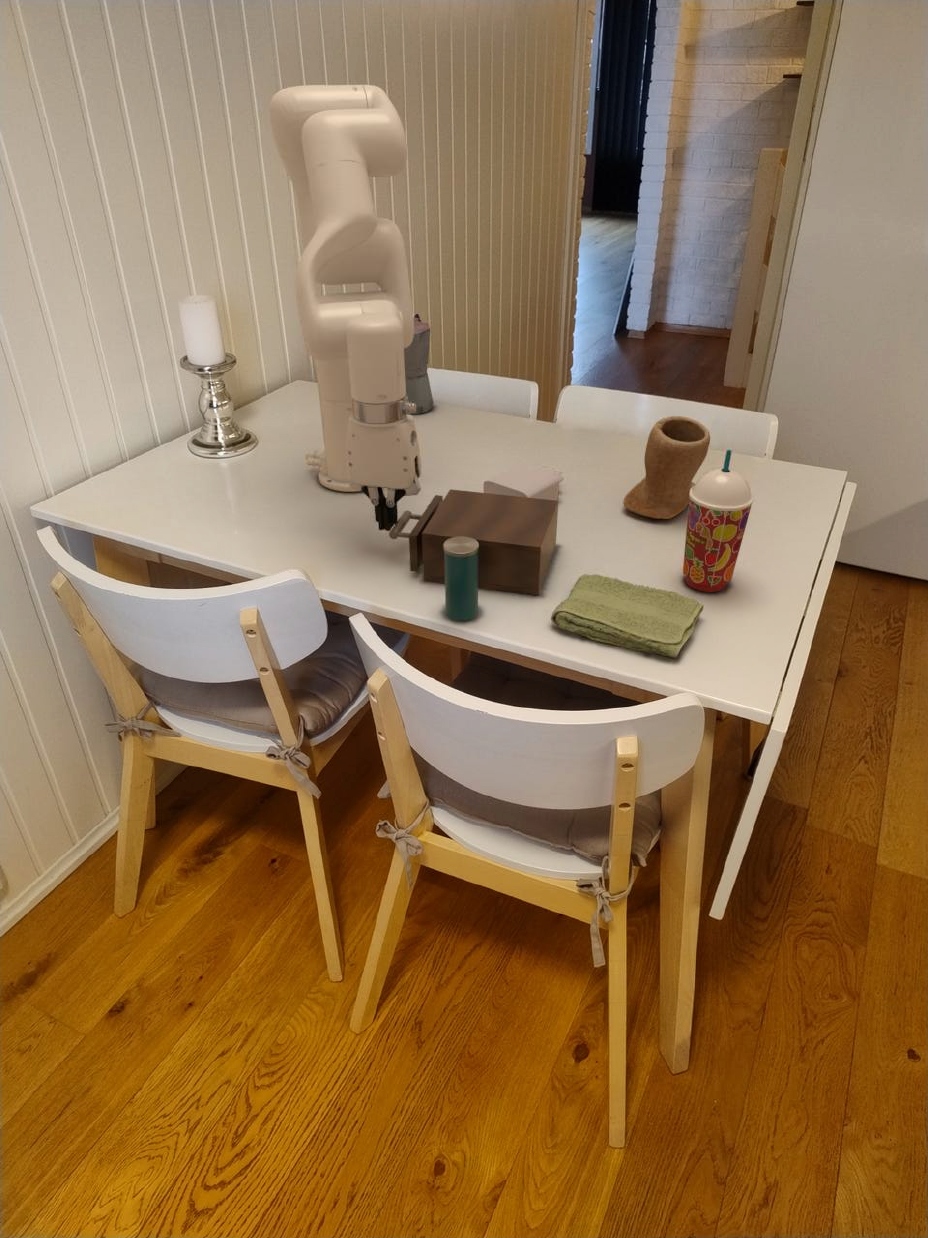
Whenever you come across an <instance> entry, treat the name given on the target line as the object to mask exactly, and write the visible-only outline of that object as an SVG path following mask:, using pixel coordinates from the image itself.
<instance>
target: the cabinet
mask: <svg viewBox="0 0 928 1238" xmlns="http://www.w3.org/2000/svg"><path fill="white" fill-rule="evenodd" d="M558 513H559V500H546V499H537V498H527V497H518V496H508V495H499V494H490V493H484V492H480V491H471V490H460V489H449V490H448V492H447V493H446V495H445V496H444V497H443V501H442V503H441V504H440V506H439V508H438V509H437V511H436V512H435V514H434V515H433V517H432V518H431V520H430V522H429V523H428V525H427V526H426V528H425V529H424V531H423V533H422V545H423V565H422V566H423V567H422V568H423V569H422V570H423V581H424V582H429V583H438V584H445V562H444V549H443V544H444V542H445V541H446V540H448V539H450V538H453V537H460V536H463V537H470V538H473V539H475V540H476V541H477V542H478V543H479V550H478V589H483V590H485V589H486V590H490V591H491V590H492V591H500V592H506V593H514V594H522V595H530V596H539V595H540V592H541V589H542V586H543V584H544V580H545V578H546V575H547V573H548V570H549V566H550V564H551V561H552V558H553V555H554V553H555V549H556V546H557V532H558V531H557V530H558V528H557V527H558Z"/></svg>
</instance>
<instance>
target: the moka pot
mask: <svg viewBox="0 0 928 1238" xmlns="http://www.w3.org/2000/svg"><path fill="white" fill-rule="evenodd" d="M413 318H414V337H413V340H412V343H411V344H410V345H409V346H408V347H407V348H405V349H404V361H405V382H406V395H408V401H409V402H411V403H416V412H415V413H408V415H412V416H413V415H420V414H424V413H427V412H430V411H431V410H432V409H433V407H434V405H435V403H434V398H433V394H432V393H433V392H432V387H431V382H430V378H429V374H428V365H429V359H430V358H429V357H430V345H431V344H430V343H431V327H430V324H429V323H428V322H424V321H422V320H421V318H420V315H419V314H418V313H415V315H413Z"/></svg>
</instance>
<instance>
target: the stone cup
mask: <svg viewBox="0 0 928 1238" xmlns="http://www.w3.org/2000/svg"><path fill="white" fill-rule="evenodd" d="M646 442H647V443H646V446H645V452H644V470H645V477H643V478H642V479H641V480H640V482H638V483H637V484H636V485H635V486H633V488H631V489H630V490H629V492H627V494H626V495H625V496H624V498H623V501H622V504H623V506H624V508H626V509H627V510H629V511H631V512H632V513H635V514H636V515H641V516H644V517H648V518H651V519H661V520H668V519H672V518H674V517H676V516H677V515H679V514H680V513H682V512H683V511H684V510H685V509H686V508H687V507H688V506H689V491H690V489H691V488H692V487H693V486H694V485H695V484H696V482H693V480H694V478H695V476H696V475H697V473H698V471H699V469H700V468H701V466H702V465H703V463H704V461H705V459H706V457H707V455H708V452H709V447H710V444H711V435H710V431H709V430H708V428H707V427H705V425H704V424H702V423H701V422H700V421H698V420H695V419H693V418H692V417H691V418H690V417H687V416H680V415H671V416H667V417H663V418H661V419H660V420H658V421H657V422H656V423H655V424H654V425H653V426H652V428H651V430H650V432H649V435H648V439H647V441H646Z"/></svg>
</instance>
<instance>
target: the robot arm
mask: <svg viewBox="0 0 928 1238" xmlns="http://www.w3.org/2000/svg"><path fill="white" fill-rule="evenodd" d="M269 121H270V127H271V132H272V136H273V140H274V143H275V147H276V150H277V152H278V156H279V157H280V160H281V162H282V165H283V168H284V169H285V171H286V173H287V175H288V177H289V179H290V182H291V185H292V188H293V190H294V193H295V198H296V202H297V209H298V210H297V211H298V216H299V223H300V231H301V237H302V244H303V252H302V253H301V257H300V259H299V262H298V265H297V268H296V274H295V282H294V283H295V284H294V287H295V301H296V306H297V312H298V318H299V323H300V330H301V336H302V340H303V343H304V344H303V345H304V347H305V348H306V350H307V352H308V354H309V355H310V356H311V357H312V358H313V360H314V366H315V372H316V380H317V381H316V382H317V392H318V401H319V409H320V417H321V418H320V419H321V427H322V436H323V448H324V449H323V450H322V451H318V450H312V449H307V450H306V452H305V460H306V464H307V466H311V467H319V468H320V470H319V472H318V481H319V483H320V484H321V485H322V486H323V487H325V488H327V489H329V490H333V491H337V492H346V493H347V492H349V493H353V492H354V493H355V492H362V493H363V494H364V495H365V496H366V497H367V498H368V499H369V500H370V503H371V505H372V506H374V516H375V522H376V523H377V525H378V527H377V529H378V530H379V531H386V532H390V531H391V530H392V528H393V527H394V525H395V524H396V522H397V521H398V520H399V513H398V502H399V501H400V500H401V499H403V498H404V497H413V496H417V495H418V494H420V492H421V489H422V487H421V485H420V481H419V478H420V477H421V476H422V460H421V458H422V457H421V450H420V444H419V439H418V431H417V428H416V423H415V418H414V416H413V415H410V414H408V413H415V412H416V403H411V402H409V401H408V395H406V382H405V361H404V349H405V348H407V347H408V346H409V345H410V344H411V343H412V340H413V337H414V309H413V302H412V300H413V299H412V293H411V285H410V277H409V269H408V261H407V260H408V259H407V253H406V252H407V251H406V246H405V241H404V238H403V235H402V232H401V229H400V228H399V226H398V225H397V224H396V223H395V222H394V221H393V220H391V219H390V218H386V217H385V218H384V217H377V215H376V214H377V213H376V210H375V209H376V208H375V204H374V203H375V202H374V198H373V192H372V186H371V180H370V178H386V177H387V178H388V177H396V176H399V175H400V174H401V173H402V172H403V171H404V170H405V168H406V164H407V160H408V159H407V158H408V143H407V137H406V132H405V128H404V125H403V121H402V119H401V117H400V115H399V113H398V110H397V109H396V107H395V105H394V104H393V102H392V101H391V100H390V98H389V96H388V95H387V94H386V92H385V90H384V89H382V88H381V87H379V86H377V85H373V84H304V85H295V86H289V87H286V88H284V89H281V90H279V91H277V92H276V93H275V94H274V95H272V97H271V99H270V102H269ZM316 283H317V284H320V285H325V286H341V285H343V286H344V285H353V284H354V285H355V284H356V285H357V284H358V285H359V284H370V283H371V284H373V283H374V284H376V285H377V286H378V287H379V289H380V290H371V291H350V292H336V293H329V294H324V295H321V296H320V295H319V296H317V292H316V291H317V290H316V289H317V288H316ZM385 489H386V494H385Z"/></svg>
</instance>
